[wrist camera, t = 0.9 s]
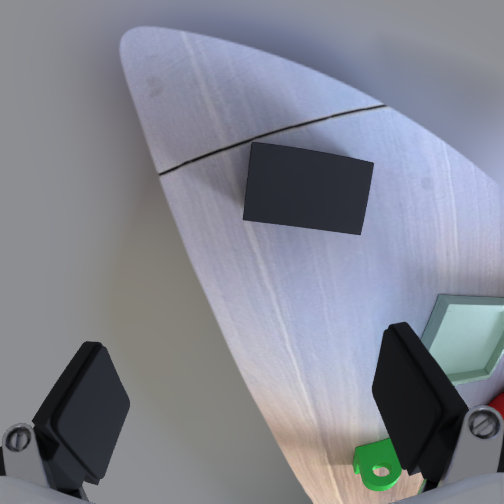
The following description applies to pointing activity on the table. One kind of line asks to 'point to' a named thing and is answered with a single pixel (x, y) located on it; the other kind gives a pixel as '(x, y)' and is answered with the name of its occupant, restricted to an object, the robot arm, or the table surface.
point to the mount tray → (466, 336)
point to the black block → (306, 188)
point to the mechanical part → (377, 464)
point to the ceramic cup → (498, 404)
